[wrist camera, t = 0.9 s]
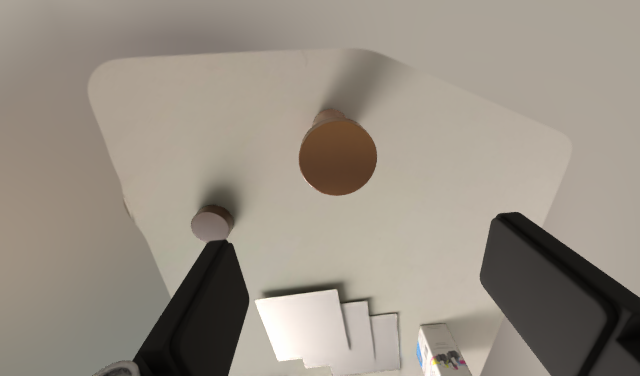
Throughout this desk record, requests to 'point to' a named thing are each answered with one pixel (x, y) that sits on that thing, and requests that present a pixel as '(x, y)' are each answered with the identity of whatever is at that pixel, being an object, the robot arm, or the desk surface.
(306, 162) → the oak chip
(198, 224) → the walnut chip
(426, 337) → the ink box
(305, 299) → the paper stack
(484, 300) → the desk surface
